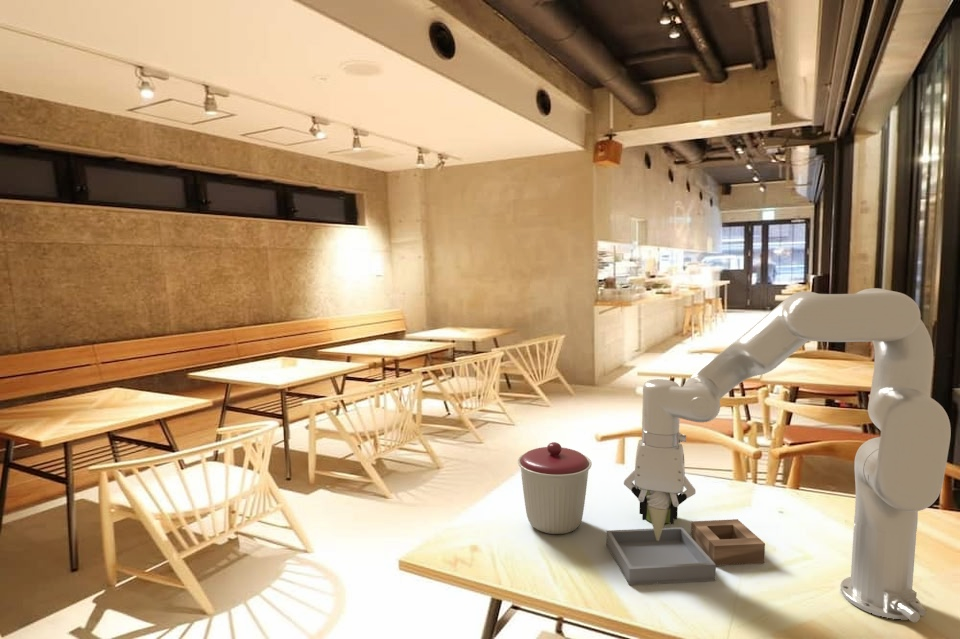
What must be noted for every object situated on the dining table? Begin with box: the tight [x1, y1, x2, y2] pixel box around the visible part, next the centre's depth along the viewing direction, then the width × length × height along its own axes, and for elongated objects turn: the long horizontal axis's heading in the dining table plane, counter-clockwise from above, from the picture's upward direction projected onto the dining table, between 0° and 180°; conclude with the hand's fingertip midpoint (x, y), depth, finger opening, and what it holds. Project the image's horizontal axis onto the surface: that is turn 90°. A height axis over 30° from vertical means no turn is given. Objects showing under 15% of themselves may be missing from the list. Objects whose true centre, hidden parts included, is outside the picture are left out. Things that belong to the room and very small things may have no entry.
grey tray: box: [605, 526, 717, 586], centre depth 121 cm, size 16×18×4 cm
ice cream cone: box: [647, 490, 670, 541], centre depth 119 cm, size 5×5×15 cm
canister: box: [517, 442, 592, 535], centre depth 137 cm, size 18×18×21 cm
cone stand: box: [690, 518, 766, 567], centre depth 125 cm, size 11×11×4 cm
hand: (658, 518), depth 120 cm, fingers closed on ice cream cone, 5 cm apart
